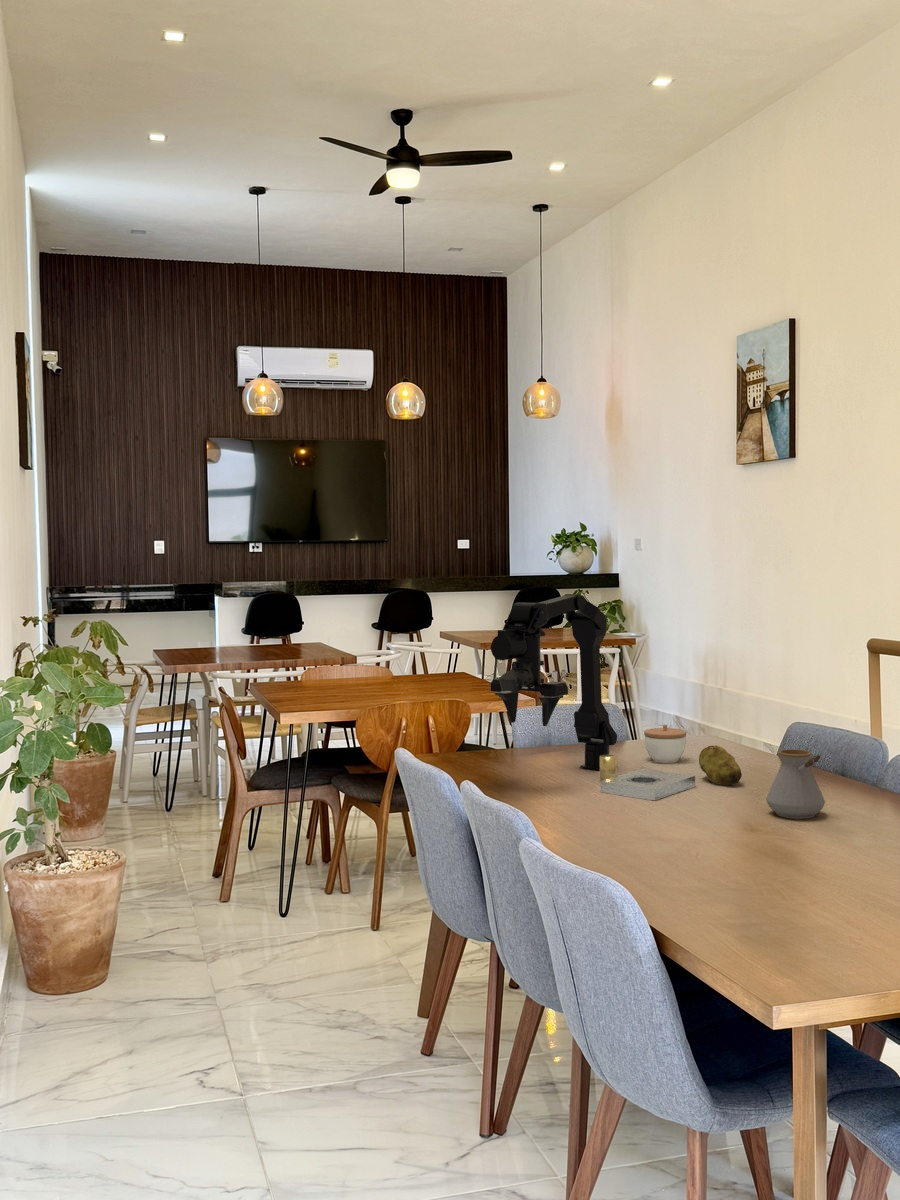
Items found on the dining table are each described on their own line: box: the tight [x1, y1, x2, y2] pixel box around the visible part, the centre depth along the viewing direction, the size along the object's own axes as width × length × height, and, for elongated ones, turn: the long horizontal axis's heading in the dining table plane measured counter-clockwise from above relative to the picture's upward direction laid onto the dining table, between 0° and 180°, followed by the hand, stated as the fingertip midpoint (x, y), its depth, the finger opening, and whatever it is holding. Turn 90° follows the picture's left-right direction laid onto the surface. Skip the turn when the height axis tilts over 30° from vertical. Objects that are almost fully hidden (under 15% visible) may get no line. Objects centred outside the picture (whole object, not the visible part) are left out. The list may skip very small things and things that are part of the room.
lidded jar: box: [643, 724, 687, 764], centre depth 281 cm, size 11×11×9 cm
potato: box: [698, 745, 743, 786], centre depth 254 cm, size 8×13×8 cm, turn 178°
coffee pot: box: [765, 749, 826, 820], centre depth 217 cm, size 21×12×15 cm, turn 179°
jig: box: [599, 768, 696, 801], centre depth 247 cm, size 18×14×2 cm
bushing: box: [599, 754, 618, 782], centre depth 257 cm, size 4×4×6 cm
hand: (528, 724), depth 251 cm, fingers open, 9 cm apart
